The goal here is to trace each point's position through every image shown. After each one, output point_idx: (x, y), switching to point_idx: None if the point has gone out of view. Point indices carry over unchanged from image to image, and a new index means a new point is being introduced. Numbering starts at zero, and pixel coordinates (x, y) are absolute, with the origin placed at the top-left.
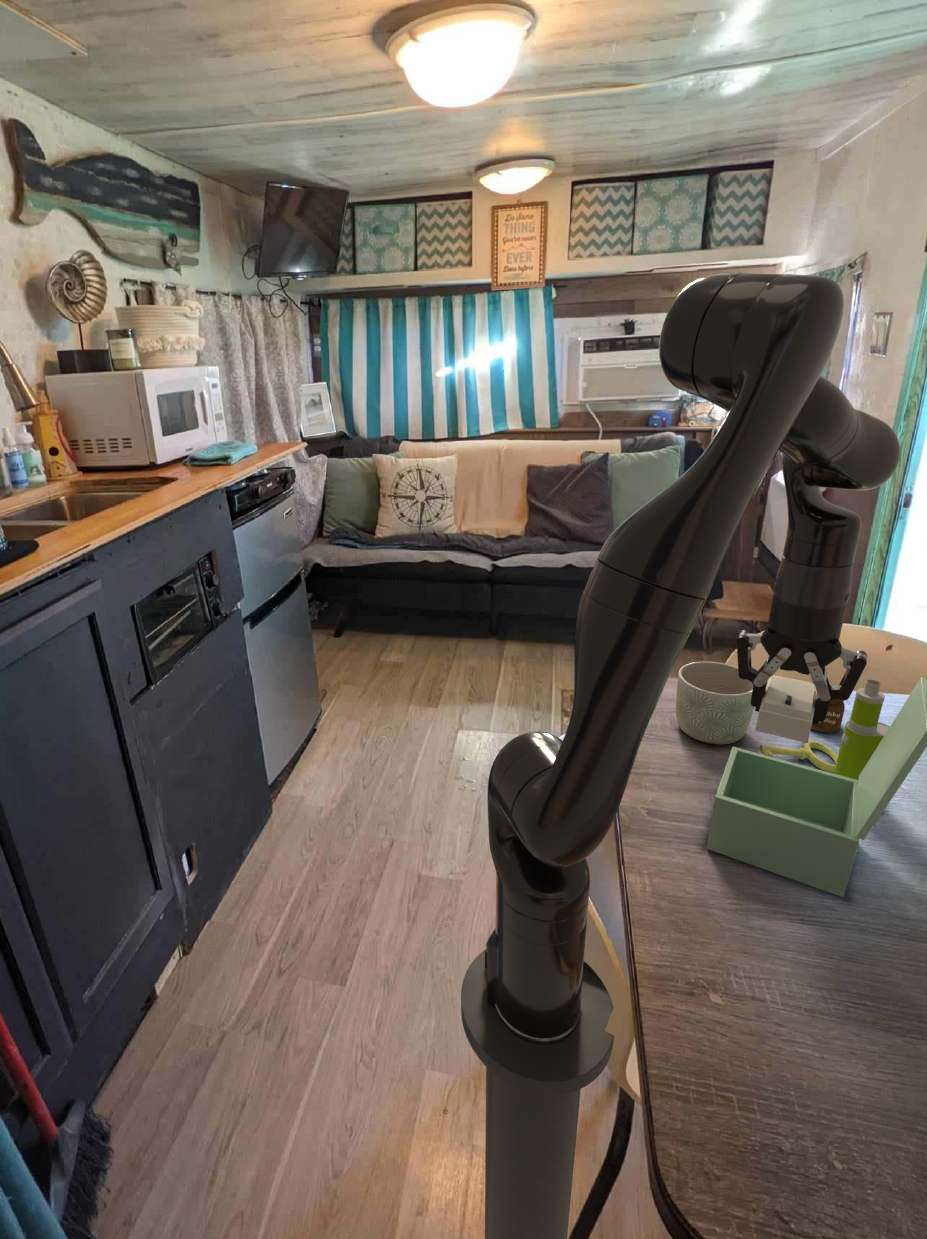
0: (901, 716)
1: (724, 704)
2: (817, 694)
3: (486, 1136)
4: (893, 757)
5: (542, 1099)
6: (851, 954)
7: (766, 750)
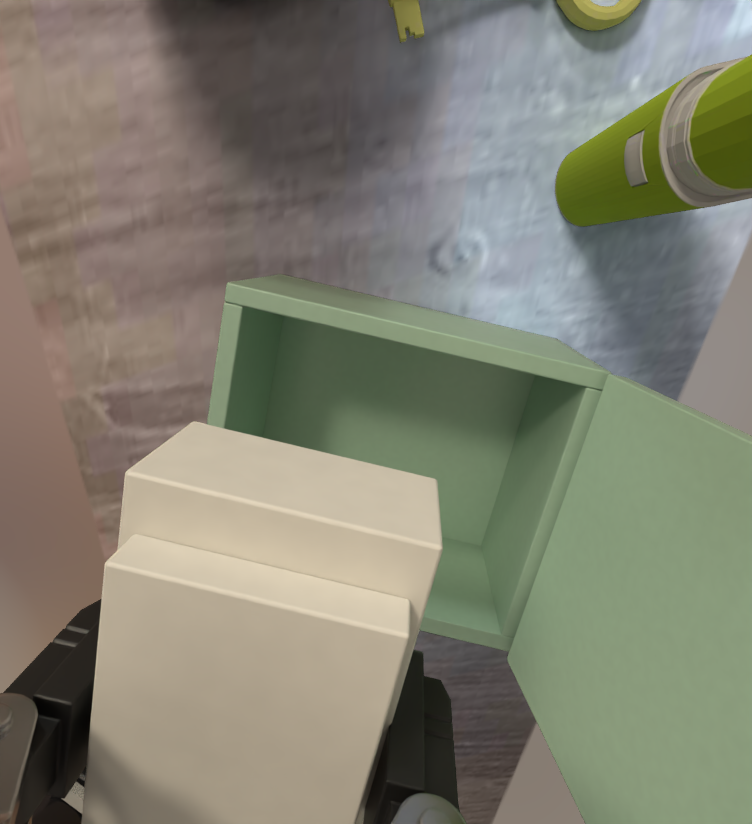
0: None
1: None
2: (381, 809)
3: None
4: (679, 773)
5: None
6: (466, 670)
7: (404, 3)
